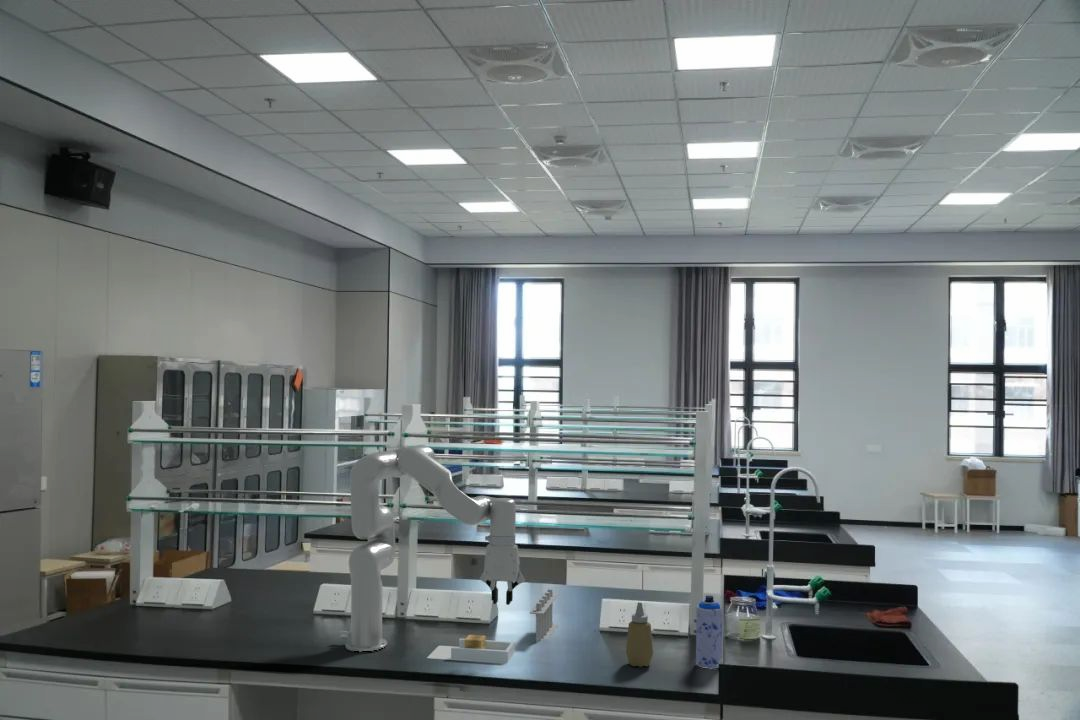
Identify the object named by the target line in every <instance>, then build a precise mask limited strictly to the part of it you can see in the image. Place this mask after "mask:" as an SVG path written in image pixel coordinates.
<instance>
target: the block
mask: <svg viewBox="0 0 1080 720" xmlns="http://www.w3.org/2000/svg"><path fill="white" fill-rule="evenodd" d="M464 639H465V648H475V649H485V643H486V640H487V639H486V635H481V634H479V635H478V634H469V635H467V636H466V638H464Z"/></svg>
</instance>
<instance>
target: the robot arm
mask: <svg viewBox="0 0 1080 720" xmlns="http://www.w3.org/2000/svg"><path fill="white" fill-rule="evenodd" d="M400 476H408V477H410V478H411V479H412V480H414V481H415V482H417V483H418V484H419V485H421V486H422V487H424V489H426V490H428V491H429V492H430V493H431V494H433V496H434V497H435V499H436V500H437V502H438V503H439V505H440V506H441V508H443V510H445V511H446V512H447V513H449V514H450V515H451V516H452V517H454V518H455V519H456V520H458V521H460V522H461V523H463V524H464V525H468V526H475V525H478V524H480V523H483V522H486V521H489V535H485V537H484V541H486V542H488V543H489V544H487V545H486V549H485V553H484V555H485V556H484V566H483V567H484V568H483V572H482V573H481V576H480V577H479V580H480V581H481V582H483V583H484V584H485V585H487V586H488V588H490V590H491V601H493V602H492V604H493V605H495V604H497V603H499V588H498V587H497V583H498V582H507V583H506V584H507V590H506V594H505V595H506V597H505V600H506V601H505V604H506V606H509V605H510V604H511V602H513V597H514V595H513V591H514V589H515V588H516V587H517V586H519V585H520V584H523V583H524V582H525V579H526V578H525V576H524V575H523V574H522V572H521V563H520V553H519V546H518V544H516V515H517V514H516V511H517V510H516V509H517V507H516V501H515V500H514V499H513V498H508V497H499V498H496V497H493V496H492V497H491V496H487V495H478V496H475V497H472V498H471V497H469V496H468V495H467V494H465V493H464V492H463V491H462V490H460V489H459V488H458V487H457V486H456V485H455V483H454V482H453V475H452V472H451V471H450V470H449V469H448V468H447V467H445V466H444V465H442V464H441V463H440V462H438V461H437V458H436V454H435V452H434V450H433V449H432V448H431V447H429V446H427V445H423V444H418V445H412V446H409V447H405V448H398V449H391V450H385V451H380V452H374V453H369V454H367V455H364V456H363V457H361V458H360V459H358V460H357V461H356V462H354V464H353V465H352V467H351V469H350V471H349V488H350V490H349V491H350V512H351V513H350V515H351V530H352V533H353V534H354V537H356V538H357V539H360V540H367V542H365V543H362V544H360V545H358V546H356V547H355V548H354V549H353V550H352V551H351V553H350V555H349V558H348V568H349V569H348V570H349V576H350V589H351V590H350V596H351V598H350V599H351V600H350V630H348V631H346V630H339V631H338V632H339V633H338V637H339V639H340V640H347V641H346V643H345V648H346V650H348V651H351V652H354V651H359V652H358V653H363V652H362V651H372V652H374V651H373V650H377V651H379V650H378V649H381V648H383V649H385V648H386V647H387V646H388V641H387V640H386V639H385V638H383V590H384V589H383V582H382V578H381V573H380V571H382V570H384V569H387V568H388V567H389V566H391V564H393V562H394V560H395V558H396V533H395V532H396V529H395V519H394V516H393V513H392V511H391V510H390V509H389V508H388V507H387V506H385V505H383V504H380V502H379V501H380V500H379V498H380V497H379V496H380V495H379V490H378V487H377V484H376V483H377V482H378V481H382V480H386V479H390V478H395V477H400ZM386 645H387V646H386ZM385 646H386V647H385ZM384 647H385V648H384ZM381 650H382V649H381Z"/></svg>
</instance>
